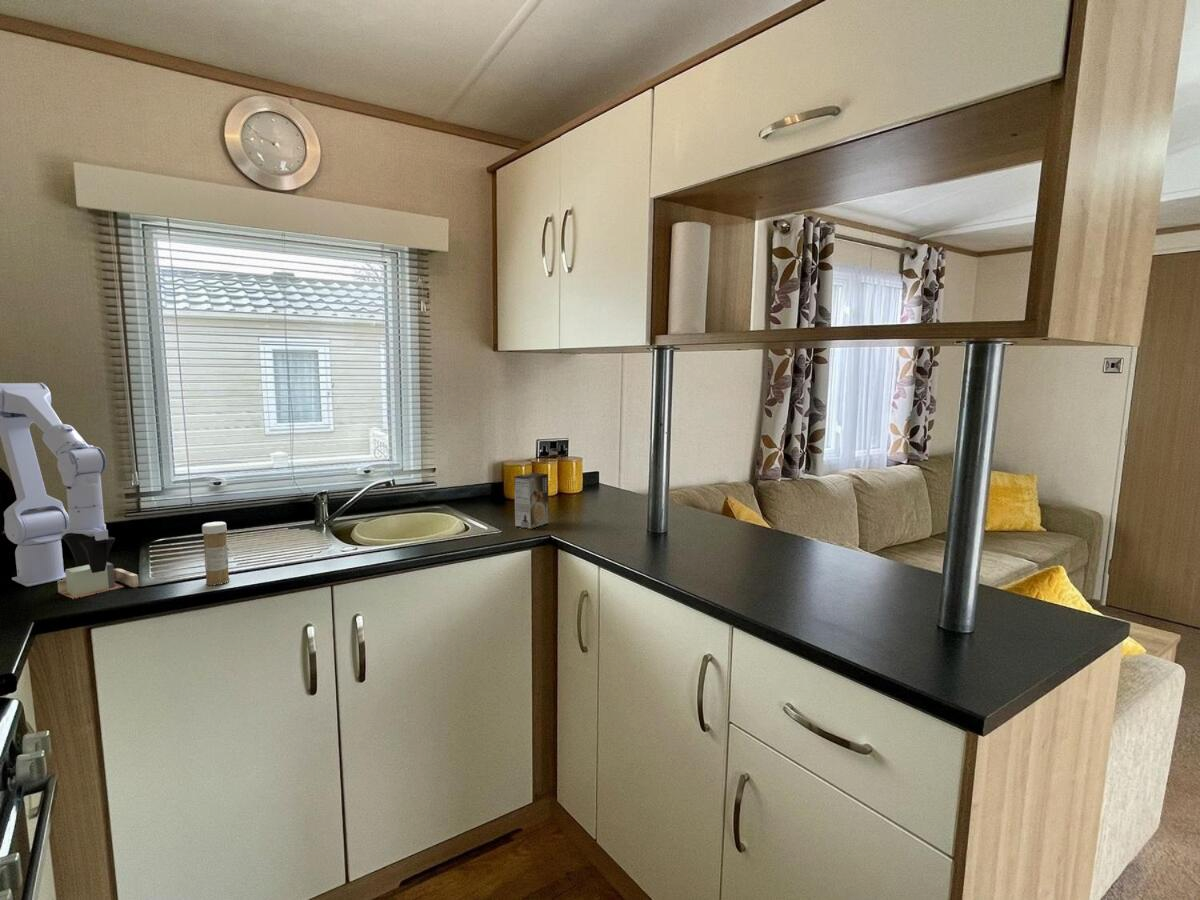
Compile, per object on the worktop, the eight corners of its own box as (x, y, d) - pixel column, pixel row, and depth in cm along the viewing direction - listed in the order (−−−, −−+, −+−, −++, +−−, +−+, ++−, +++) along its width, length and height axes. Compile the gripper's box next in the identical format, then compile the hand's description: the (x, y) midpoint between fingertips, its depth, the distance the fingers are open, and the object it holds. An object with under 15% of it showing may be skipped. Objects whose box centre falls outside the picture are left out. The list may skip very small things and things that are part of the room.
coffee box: (533, 522, 201) (532, 472, 199) (549, 524, 197) (548, 473, 195) (514, 527, 193) (513, 475, 191) (530, 530, 189) (530, 477, 188)
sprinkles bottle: (212, 579, 142) (208, 521, 140) (233, 579, 142) (230, 520, 141) (201, 586, 137) (197, 525, 136) (223, 585, 138) (219, 525, 136)
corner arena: (58, 592, 133) (57, 581, 133) (119, 578, 142) (118, 568, 142) (76, 600, 128) (75, 589, 128) (138, 586, 137) (137, 575, 137)
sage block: (67, 592, 132) (65, 569, 132) (107, 583, 138) (105, 561, 138) (74, 596, 130) (72, 572, 130) (115, 586, 136) (113, 564, 136)
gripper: (48, 504, 133) (54, 567, 135) (76, 513, 125) (81, 579, 127) (88, 499, 139) (94, 559, 140) (117, 507, 131) (122, 570, 133)
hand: (90, 568), depth 134 cm, fingers open, 7 cm apart
